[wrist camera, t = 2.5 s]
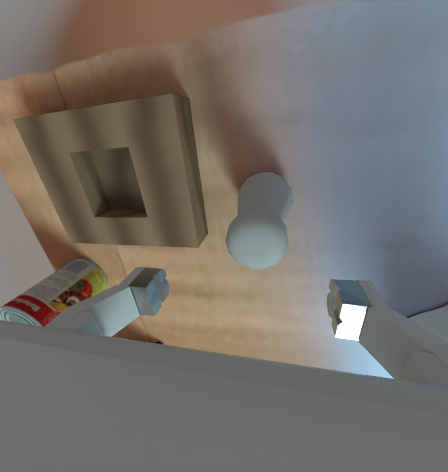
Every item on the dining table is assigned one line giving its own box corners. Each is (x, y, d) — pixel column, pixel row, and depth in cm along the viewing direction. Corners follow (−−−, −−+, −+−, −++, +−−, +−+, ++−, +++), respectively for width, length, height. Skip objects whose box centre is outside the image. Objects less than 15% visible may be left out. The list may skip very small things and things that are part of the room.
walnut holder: (189, 98, 22) (172, 93, 19) (207, 233, 29) (198, 247, 26) (46, 120, 27) (12, 119, 24) (92, 231, 34) (71, 242, 31)
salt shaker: (237, 173, 25) (202, 213, 13) (287, 162, 23) (295, 197, 12) (247, 219, 27) (224, 285, 16) (293, 212, 25) (304, 281, 14)
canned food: (79, 288, 42) (15, 341, 32) (65, 255, 39) (-13, 303, 28) (113, 294, 41) (56, 351, 30) (100, 260, 37) (31, 312, 27)
